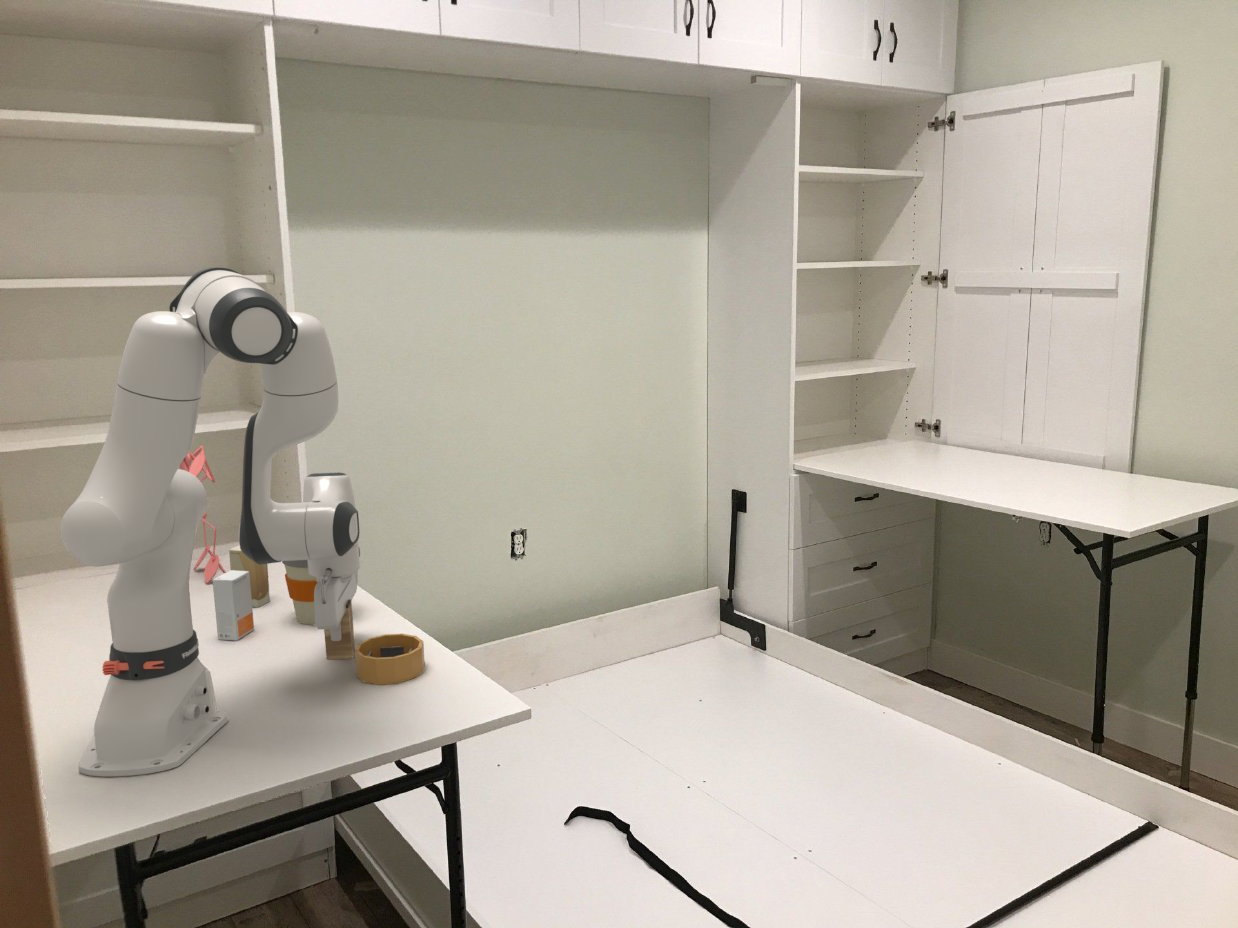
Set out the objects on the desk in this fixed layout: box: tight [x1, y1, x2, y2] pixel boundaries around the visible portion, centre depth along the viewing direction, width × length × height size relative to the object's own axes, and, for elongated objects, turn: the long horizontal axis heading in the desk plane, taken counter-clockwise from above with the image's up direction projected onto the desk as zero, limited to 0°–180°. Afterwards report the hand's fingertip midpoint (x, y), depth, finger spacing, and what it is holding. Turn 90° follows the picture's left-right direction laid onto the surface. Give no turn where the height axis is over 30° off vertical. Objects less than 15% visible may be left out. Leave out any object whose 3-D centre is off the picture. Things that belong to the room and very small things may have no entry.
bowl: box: [354, 633, 426, 685], centre depth 169 cm, size 11×11×4 cm
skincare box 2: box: [212, 569, 255, 642], centre depth 187 cm, size 6×4×12 cm
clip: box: [368, 646, 412, 658], centre depth 169 cm, size 7×9×3 cm
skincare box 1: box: [228, 544, 271, 608], centre depth 204 cm, size 6×4×12 cm
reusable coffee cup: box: [281, 560, 318, 626], centre depth 195 cm, size 13×13×15 cm
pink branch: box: [179, 445, 227, 584], centre depth 219 cm, size 15×26×35 cm, turn 31°
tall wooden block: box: [323, 599, 356, 660], centre depth 176 cm, size 3×4×10 cm, turn 95°
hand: (339, 634), depth 176 cm, fingers closed on tall wooden block, 3 cm apart
